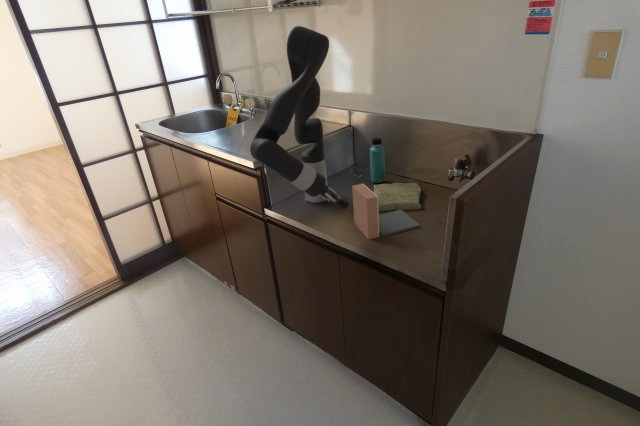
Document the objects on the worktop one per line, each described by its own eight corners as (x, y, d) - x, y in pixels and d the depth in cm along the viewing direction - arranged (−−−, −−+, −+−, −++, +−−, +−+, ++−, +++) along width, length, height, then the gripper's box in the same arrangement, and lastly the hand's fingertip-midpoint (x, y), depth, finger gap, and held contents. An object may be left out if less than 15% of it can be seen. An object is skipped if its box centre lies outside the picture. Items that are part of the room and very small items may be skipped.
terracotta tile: (368, 239, 128) (366, 199, 121) (354, 223, 139) (352, 185, 132) (379, 236, 129) (378, 196, 122) (364, 221, 140) (362, 183, 133)
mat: (382, 236, 129) (382, 234, 129) (366, 219, 140) (366, 217, 140) (419, 226, 132) (419, 224, 132) (401, 211, 143) (401, 209, 143)
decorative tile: (374, 212, 146) (374, 204, 144) (373, 190, 163) (373, 182, 162) (425, 210, 143) (425, 202, 142) (418, 188, 161) (418, 180, 159)
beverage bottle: (382, 186, 165) (380, 141, 156) (368, 184, 168) (366, 140, 159) (388, 180, 170) (387, 136, 160) (374, 179, 173) (372, 135, 164)
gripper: (321, 177, 113) (361, 205, 121) (308, 163, 124) (346, 190, 132) (306, 197, 114) (347, 223, 122) (294, 181, 125) (333, 207, 134)
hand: (346, 206), depth 127 cm, fingers closed
